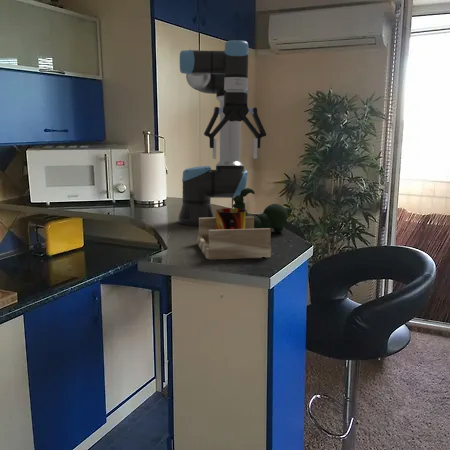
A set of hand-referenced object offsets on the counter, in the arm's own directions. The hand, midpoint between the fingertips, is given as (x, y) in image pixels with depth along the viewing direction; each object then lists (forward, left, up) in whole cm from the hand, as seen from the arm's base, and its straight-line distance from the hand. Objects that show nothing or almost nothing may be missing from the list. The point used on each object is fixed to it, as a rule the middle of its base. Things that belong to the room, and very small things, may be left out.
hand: (234, 158), depth 173 cm
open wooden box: (+5, -1, -30) cm, 30 cm away
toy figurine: (-19, +16, -30) cm, 39 cm away
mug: (+5, -1, -29) cm, 29 cm away
